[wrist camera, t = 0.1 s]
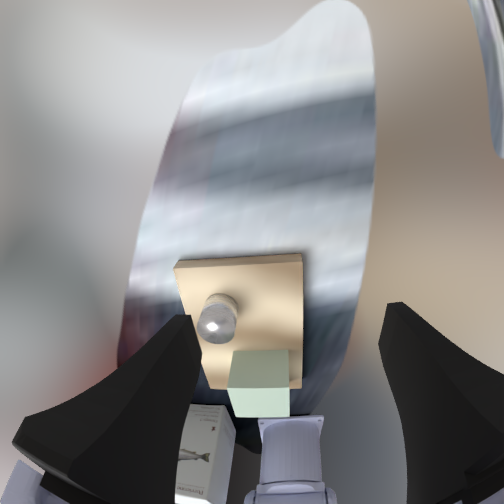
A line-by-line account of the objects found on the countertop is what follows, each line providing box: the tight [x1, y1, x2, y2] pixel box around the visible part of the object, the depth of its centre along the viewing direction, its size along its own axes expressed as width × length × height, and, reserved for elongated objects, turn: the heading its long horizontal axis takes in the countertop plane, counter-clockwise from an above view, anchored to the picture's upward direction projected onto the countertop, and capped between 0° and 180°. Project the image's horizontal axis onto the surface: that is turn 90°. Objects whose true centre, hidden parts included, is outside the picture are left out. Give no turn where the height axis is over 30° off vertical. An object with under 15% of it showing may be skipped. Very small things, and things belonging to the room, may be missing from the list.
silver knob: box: [197, 293, 239, 344], centre depth 20 cm, size 3×3×4 cm
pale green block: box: [227, 350, 290, 417], centre depth 21 cm, size 5×5×4 cm
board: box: [173, 253, 303, 389], centre depth 22 cm, size 14×9×1 cm, turn 6°
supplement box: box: [175, 404, 236, 504], centre depth 25 cm, size 7×7×13 cm
